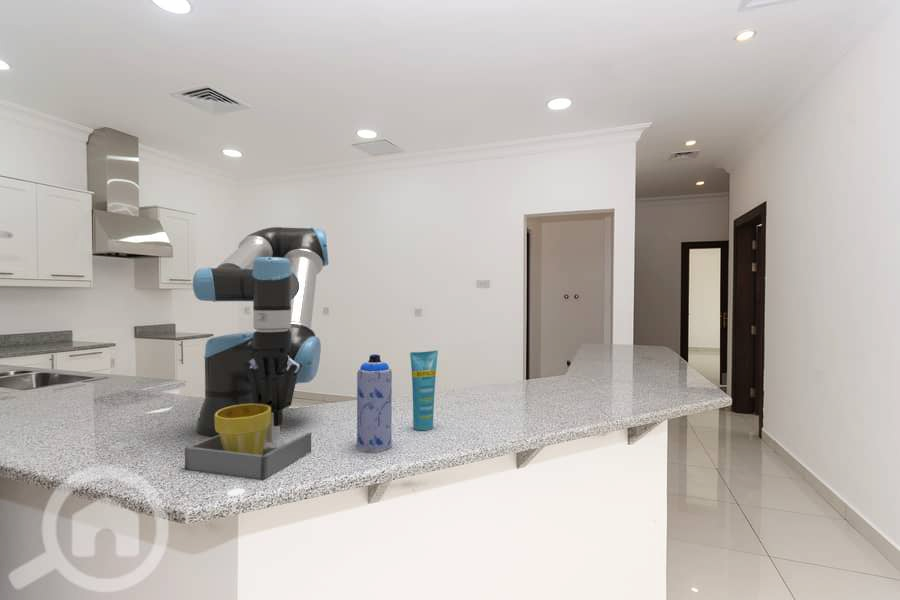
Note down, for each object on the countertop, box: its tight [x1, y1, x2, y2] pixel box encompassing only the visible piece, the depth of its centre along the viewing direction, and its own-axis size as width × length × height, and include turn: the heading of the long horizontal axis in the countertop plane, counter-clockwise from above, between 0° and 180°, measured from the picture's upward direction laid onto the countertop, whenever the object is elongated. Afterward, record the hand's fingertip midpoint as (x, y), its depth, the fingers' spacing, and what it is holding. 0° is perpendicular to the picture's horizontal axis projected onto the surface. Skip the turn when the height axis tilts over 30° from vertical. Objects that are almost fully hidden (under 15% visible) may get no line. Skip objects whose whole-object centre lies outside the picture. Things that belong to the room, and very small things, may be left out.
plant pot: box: [215, 403, 271, 455], centre depth 92 cm, size 10×10×10 cm
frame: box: [184, 432, 312, 481], centre depth 91 cm, size 18×15×4 cm
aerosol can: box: [355, 354, 393, 453], centre depth 100 cm, size 8×8×20 cm
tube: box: [409, 350, 439, 431], centre depth 114 cm, size 7×5×19 cm, turn 123°
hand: (272, 440), depth 97 cm, fingers closed
